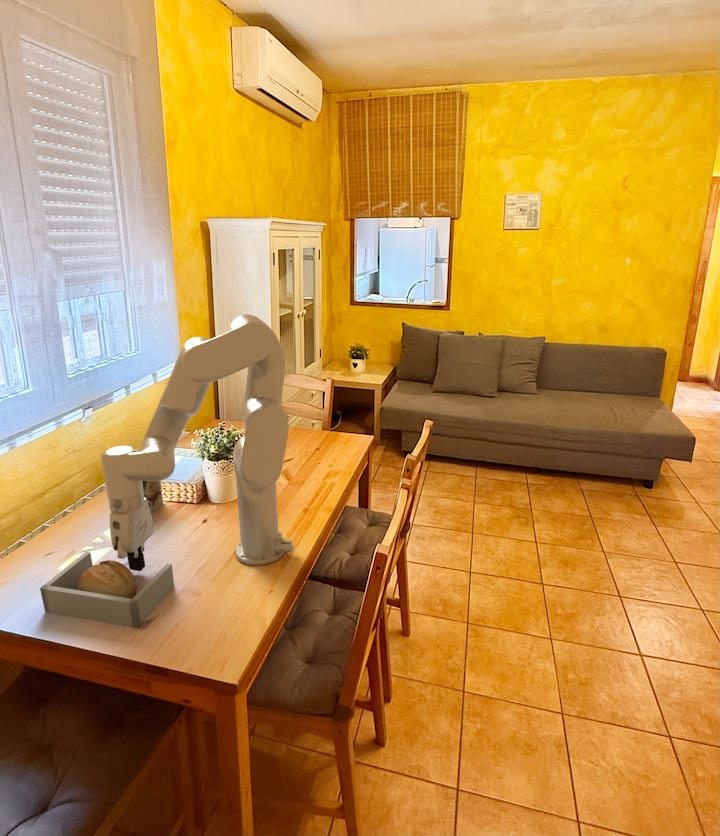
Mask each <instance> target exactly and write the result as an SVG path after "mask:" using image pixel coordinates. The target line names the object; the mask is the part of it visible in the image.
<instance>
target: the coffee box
mask: <svg viewBox="0 0 720 836" xmlns="http://www.w3.org/2000/svg"><path fill="white" fill-rule="evenodd" d="M161 481H162V480H161ZM161 481H142V484H143V491H144V497H145V498H146V500H147V502H148V505H149V508H150V512H151V513H153V512H154V511H155V510H156V509H157V508H158V507H160V506H161V505H162V504H163V503H164V499H163V490H162V482H161Z"/></svg>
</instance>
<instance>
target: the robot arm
mask: <svg viewBox="0 0 720 836" xmlns="http://www.w3.org/2000/svg"><path fill="white" fill-rule="evenodd" d="M244 369H247V375H246V383H245V389H244V397H243V403H242V405H241V406H242V407H241V420H242V423H243V425H244V428H245V430H244V431H245V433H244V435H242V436H241V437H240V438H238V441H236V443H235V445H234V447H233V452H232V458H233V460H232V461H233V466H234V476H235V483H236V493H237V495H236V497H237V508H238V511H237V512H238V521H239V524H238V525H239V534H240V535H239V537H240V542H238V544H237V545H236V546H235V549H234V550H235V553H234V554H235V557H236V559H237V560H238V561H239V562H241V563H243V564H246V565H249V566H250V565H251V566H261V565H267V564H271V563H273V562H276V561H278V560H279V559H280V558H282V556H283V555H284V554H285V553H292V554H293V553H294V551H295V550H294V549H295V545H294V544H293V540H291V539H285V538H283V532H279V518H278V502H277V501H278V499H277V497H278V494H277V481H278V480H279V478H280V477H281V473H282V471H283V467H284V460H285V455H286V449H287V444H288V437H289V431H290V428H289V425H290V424H289V417H288V414H287V413H286V412H287V411H286V410H285V409H284V408H283V406H282V402H283V401H282V399H283V398H282V397H283V393H284V392H283V391H284V383H285V376H286V375H285V373H286V360H285V354H284V350H283V347H282V344H281V342H280V340H279V338H278V336H277V335H276V333H275V332H274V331H273V329H271V327H270V326H269V325H268V324H267V323H266V322H264V321H263V320H262V319H260V318H259V317H257V316H255V315H252V314H249V313H248V314H241V315H239V316H237V317H236V318H234V319H233V321H232V322H231V323H230V326H229V329H228V331H227V332H225V333H223V334H220V335H218V336H215V337H213V338H206V337H204V336H195V337H192V338H189V339H188V340H186V342H184V344H183V345H182V348H181V350H180V351H179V354H178V357H177V359H176V361H175V364H174V366H173V369H172V371H171V373H170V376H169V378H168V381H167V383H166V386H165V388H164V390H163V393H162V395H161V398H160V399H159V402H158V405H157V407H156V410H155V412H154V414H153V416H152V417H151V418H152V419H151V420H150V423H149V426H148V428H147V431H146V433H145V436H144V438H143V440H142V443H141V447H140V451H138V450H137V449H136V448H135V447H133V446H131V445H117V446H112V447H110V448H108V449H106V450H105V451H103V453H102V454H101V464H102V470H103V475H104V482H105V487H106V495H107V500H108V506H109V510H110V511H109V531H110V533H109V534H110V539H111V545H112V548H113V551H115V552H117V559H121V560H122V559H125V558H127V562H128V569H129V570H130V571H138V572H142V571H143V570H144V569H145V568H146V561H145V555H144V552H145V543H146V542H147V541H148V539H150V538H151V536H152V535H153V534H154V532H155V530H154V529H155V528H154V522H153V517H152V512H150V508H149V505H148V502H147V500H146V498H145V497H144V491H143V484H142V481H165V480H167V479H168V478H170V477H171V476H172V475H173V473H174V472H175V469H176V458H175V457H176V456H175V455H176V454H175V451H176V447H177V445H178V442H179V440H180V437H181V436H182V432H183V431H184V428H185V427H186V425H187V423H188V422H189V420H190V419H192V417H195V416H196V415H197V414H198V413H199V412H200V410H201V407H202V405H203V403H204V400H205V398H206V395H207V393H208V390H209V388H210V385H211V383H215V382H216V381H220V380H222V379H224V378H226V377H227V378H228V377H229V376H231V375H233V374H236V373H238V372H240V371H242V370H244Z"/></svg>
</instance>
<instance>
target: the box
mask: <svg viewBox="0 0 720 836" xmlns="http://www.w3.org/2000/svg"><path fill="white" fill-rule="evenodd" d="M92 566H94V565H93V560H92V554H91V552H89V551H85V552H84V553H83V554H81V555H80V556H79V557H78V558H76V559H75V560H74V561H72V562H71V563H70V564H68V566H66V567H64V568H63V569H62V570H61V571H60V572H58V573H57V574H56V575H54V576H53V577H52V578H51V579H50V580H48V581H47V582H45V584H43V585H42V586H41V587H39V590H40V595H41V600H42V604H43V609H44V612H45V613H50V614H57V615H62V616H68V617H75V618H80V619H85V620H89V621H90V620H92V621H97V622H103V623H108V624H109V623H110V624H114V625H120V626H125V627H126V626H127V627H130V628H132V627H133V628H139V627H140V626H141V624H143V622H145V620H146V619H148V617H149V616H150V614H152V613H153V611H154V610H155V609H156V608H157V606H158V605H159V604H161V602H162V601H163V600H164V599H165V598H166V597H167V596H168V594H170V592H171V591H172V590H173V589H174V587H175V582H174V580H175V579H174V572H173V566H172V563H166V564H165V565H164V566H163V567H162V568H161V569H160V570H159V571H157V573H156V574H155V575H154V576H153V577H152V578H151V579H150V580H149V581H148V582H147V583H146V584H145V585H144V586H143V587H142V588H141V589H140V590H139V591H138V592H137V594H136V596H135V597H134V598H133V599H129V598H123V597H117V596H110V595H104V594H98V593H92V592H86V591H79V589H78V582H79V578H80V576H81V575H82V574H83V573H84V572H85V571H87V570H88V569H90V568H91V567H92Z"/></svg>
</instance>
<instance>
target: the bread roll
mask: <svg viewBox="0 0 720 836" xmlns="http://www.w3.org/2000/svg"><path fill="white" fill-rule="evenodd" d="M77 590H79V591H86V592H92V593H98V594H104V595H110V596H117V597H123V598H129V599H133V598H134V597H135V596H136V595H137V594H138V584H137V580H136V577H135V576H134V574H133V573H132V570H130V569H129V567H127V566H126V565H125V564H123V563H121V562H118V561H116V560H113V559H112V560H111V559H108V560H102V561H100V562H98V563H97V564H95V565H93V566H92V567H91V568H90V569H88V570H87V571H85V572H84V573H83V574H82V575H81V576H80V578H79V582H78V589H77Z"/></svg>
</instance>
